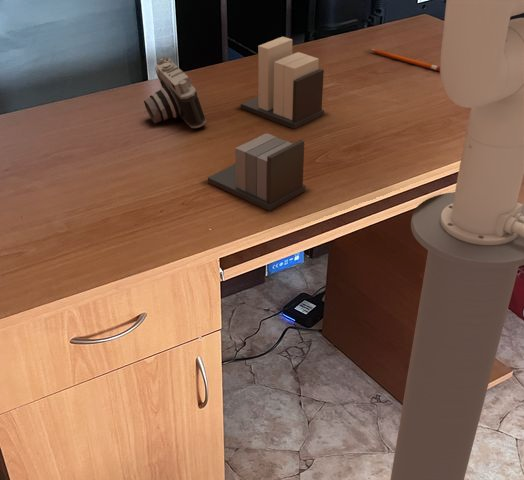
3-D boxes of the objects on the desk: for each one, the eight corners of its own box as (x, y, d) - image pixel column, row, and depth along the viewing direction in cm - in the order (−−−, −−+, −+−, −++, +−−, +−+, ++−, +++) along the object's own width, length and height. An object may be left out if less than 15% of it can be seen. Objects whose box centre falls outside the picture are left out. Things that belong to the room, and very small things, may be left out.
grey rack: (305, 191, 131) (307, 140, 125) (269, 211, 126) (269, 159, 120) (244, 164, 138) (243, 115, 132) (207, 182, 133) (205, 132, 127)
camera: (142, 113, 158) (124, 67, 151) (180, 95, 159) (163, 49, 152) (169, 144, 147) (151, 97, 140) (209, 124, 149) (193, 76, 142)
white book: (290, 100, 157) (292, 39, 149) (267, 111, 153) (268, 48, 145) (281, 97, 158) (282, 36, 151) (258, 107, 154) (258, 45, 147)
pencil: (438, 71, 171) (439, 67, 171) (367, 51, 181) (367, 47, 180) (440, 70, 172) (441, 66, 171) (369, 50, 181) (369, 46, 181)
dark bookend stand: (323, 114, 154) (327, 58, 147) (294, 129, 149) (295, 71, 142) (270, 95, 162) (271, 41, 154) (240, 108, 156) (239, 52, 149)
